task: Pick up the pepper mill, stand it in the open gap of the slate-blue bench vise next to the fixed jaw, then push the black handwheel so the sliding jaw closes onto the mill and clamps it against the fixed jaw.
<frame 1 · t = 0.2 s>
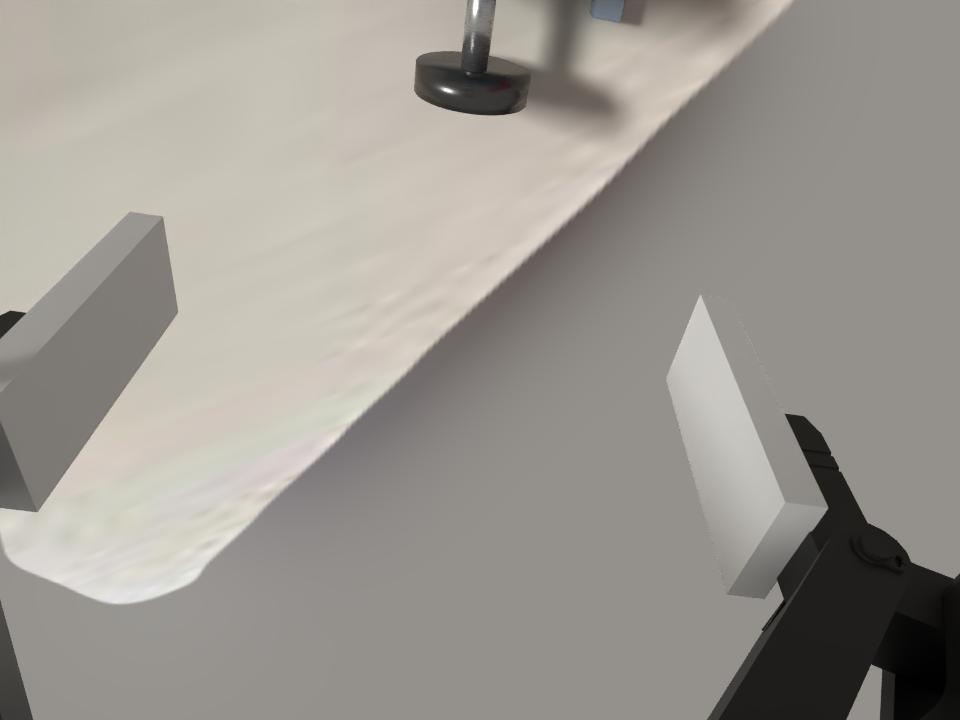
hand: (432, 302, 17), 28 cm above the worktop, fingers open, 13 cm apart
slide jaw: (481, 2, 33), point 5 cm above the worktop, slide at 0.0 cm
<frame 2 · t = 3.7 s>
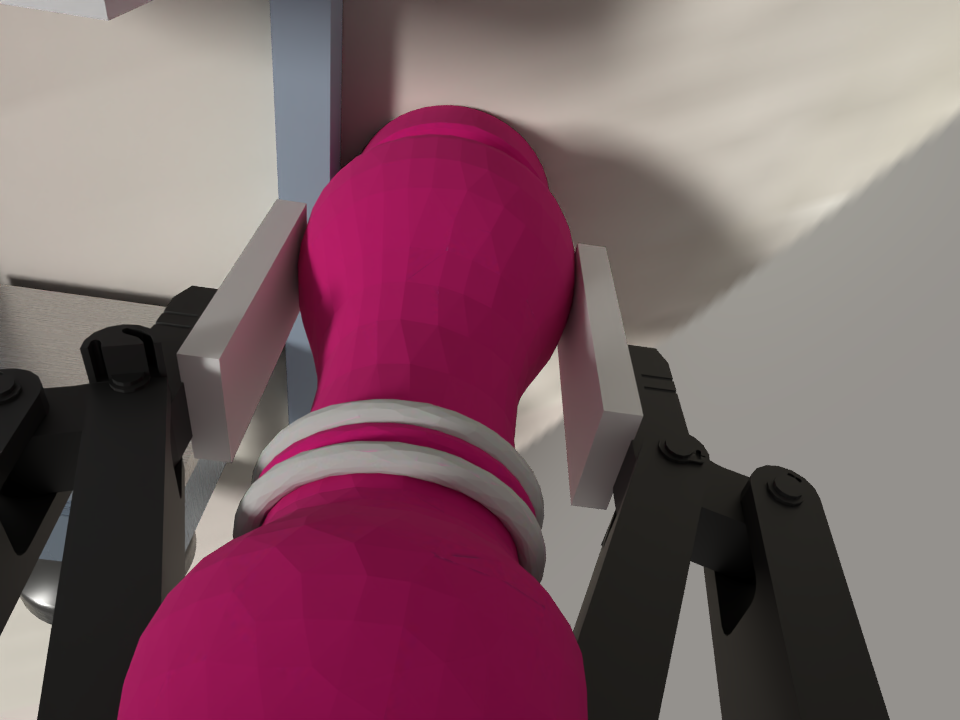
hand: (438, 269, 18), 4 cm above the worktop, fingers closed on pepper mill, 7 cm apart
pepper mill: (451, 201, 22), on the worktop, touching gripper
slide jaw: (85, 475, 23), point 5 cm above the worktop, slide at 0.0 cm
vise: (89, 118, 20), on the worktop
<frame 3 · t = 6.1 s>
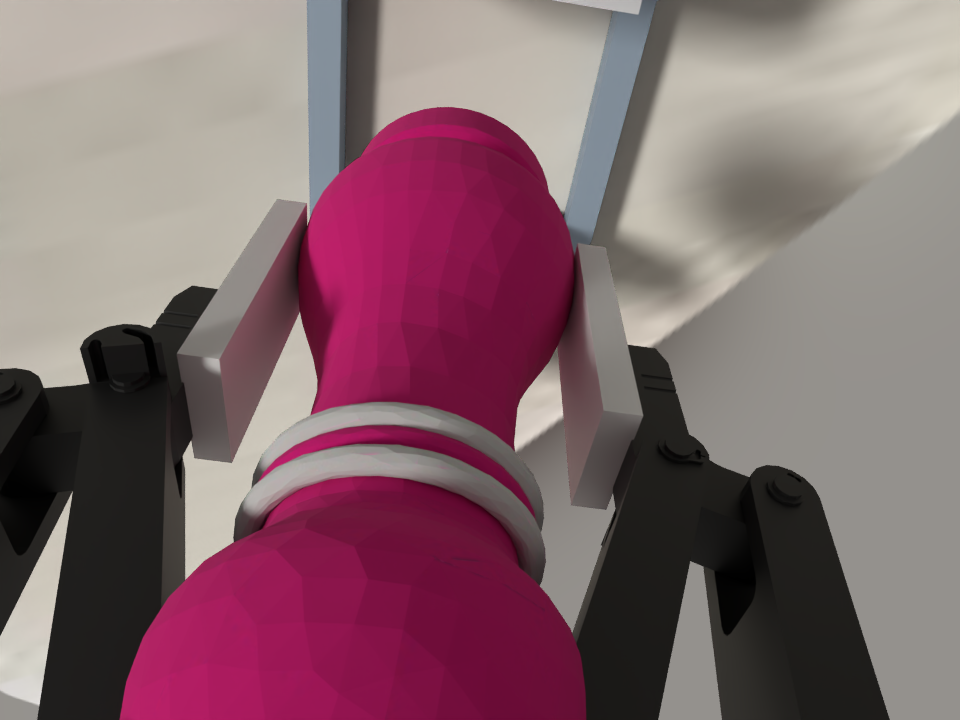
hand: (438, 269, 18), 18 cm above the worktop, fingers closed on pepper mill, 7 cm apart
pepper mill: (451, 202, 22), point 14 cm above the worktop, touching gripper
vise: (470, 76, 33), on the worktop
when the fingers open (5 cm above the worktop, at t = 8.4 s): pepper mill stays where it is, resting in vise.
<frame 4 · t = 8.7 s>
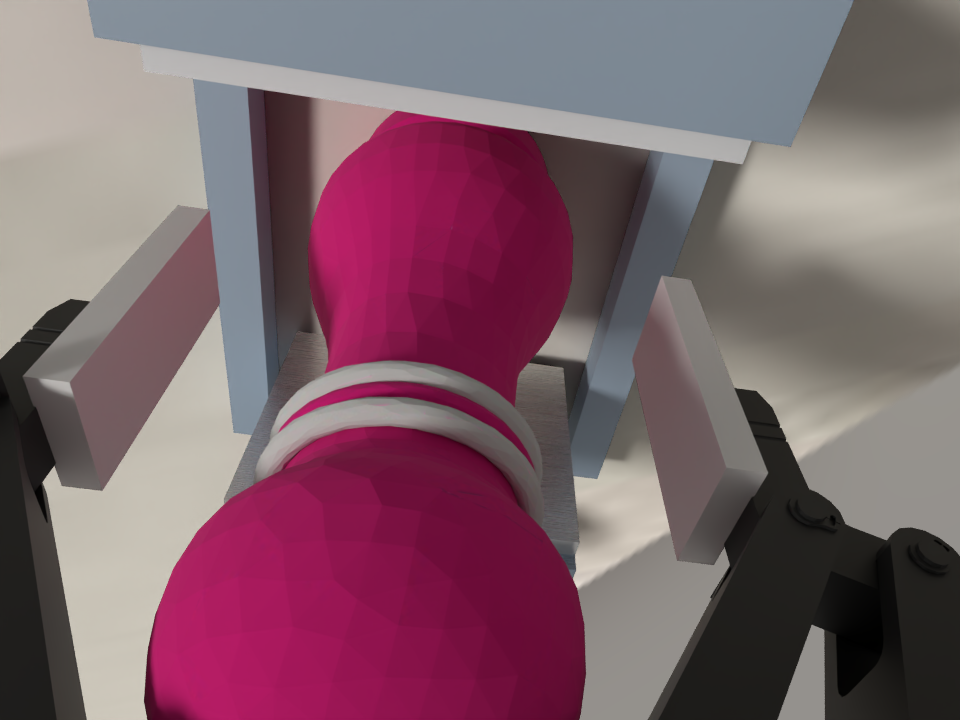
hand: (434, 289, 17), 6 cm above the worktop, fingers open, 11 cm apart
pepper mill: (454, 188, 22), resting in vise
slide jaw: (409, 511, 25), point 5 cm above the worktop, slide at 0.0 cm
vise: (451, 191, 22), on the worktop
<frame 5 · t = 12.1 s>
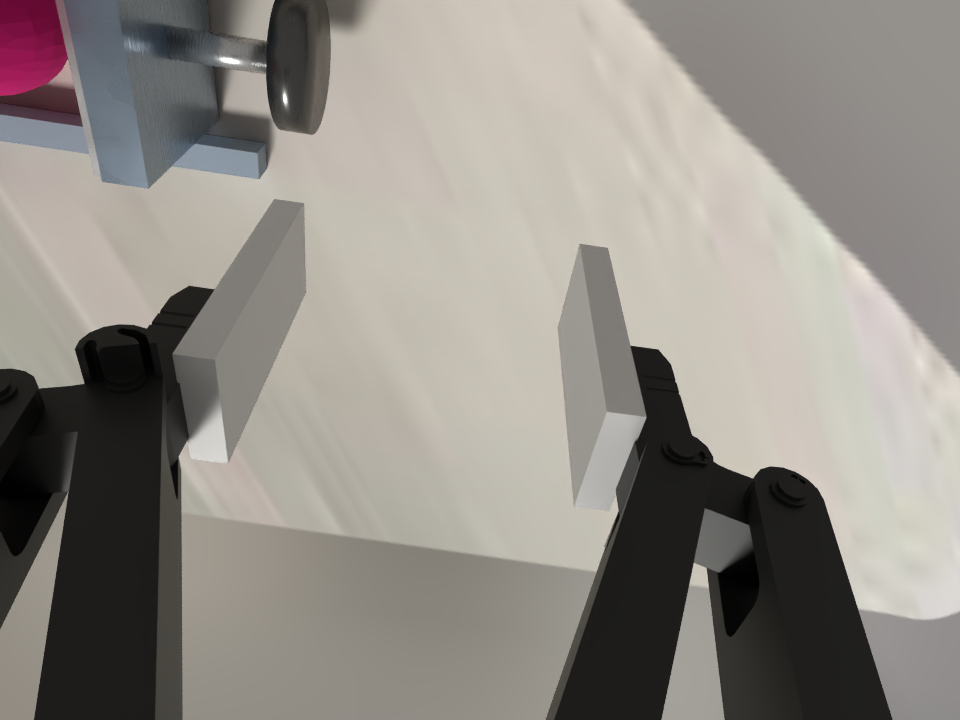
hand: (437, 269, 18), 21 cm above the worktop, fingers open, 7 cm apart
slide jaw: (216, 49, 30), point 5 cm above the worktop, slide at 0.0 cm
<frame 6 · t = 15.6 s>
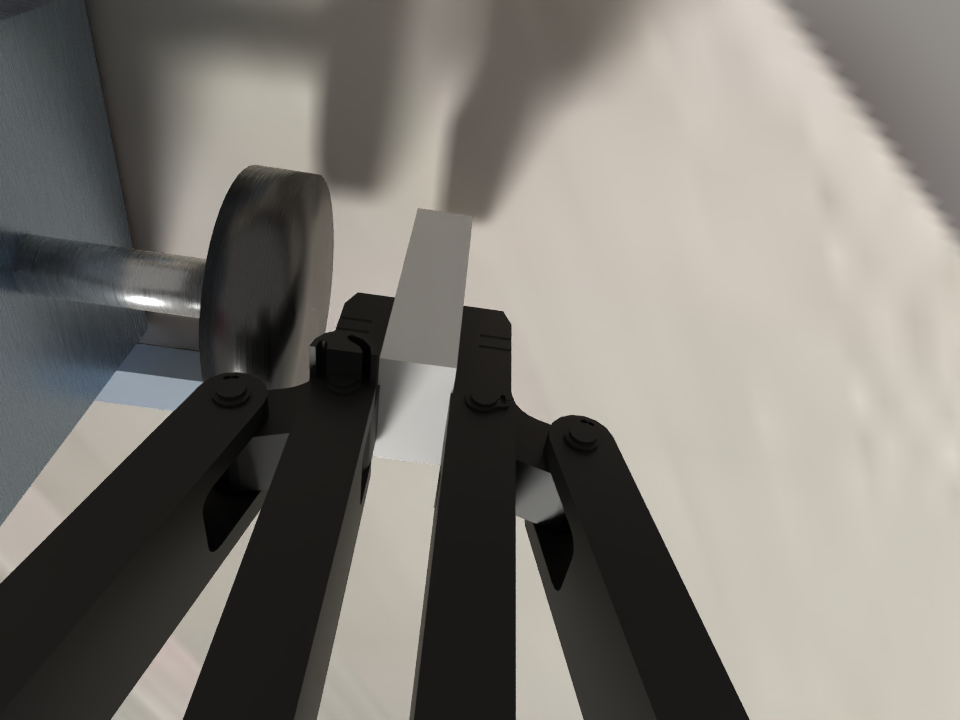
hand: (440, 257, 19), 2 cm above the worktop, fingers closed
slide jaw: (114, 276, 16), point 5 cm above the worktop, slide at 1.2 cm, touching gripper
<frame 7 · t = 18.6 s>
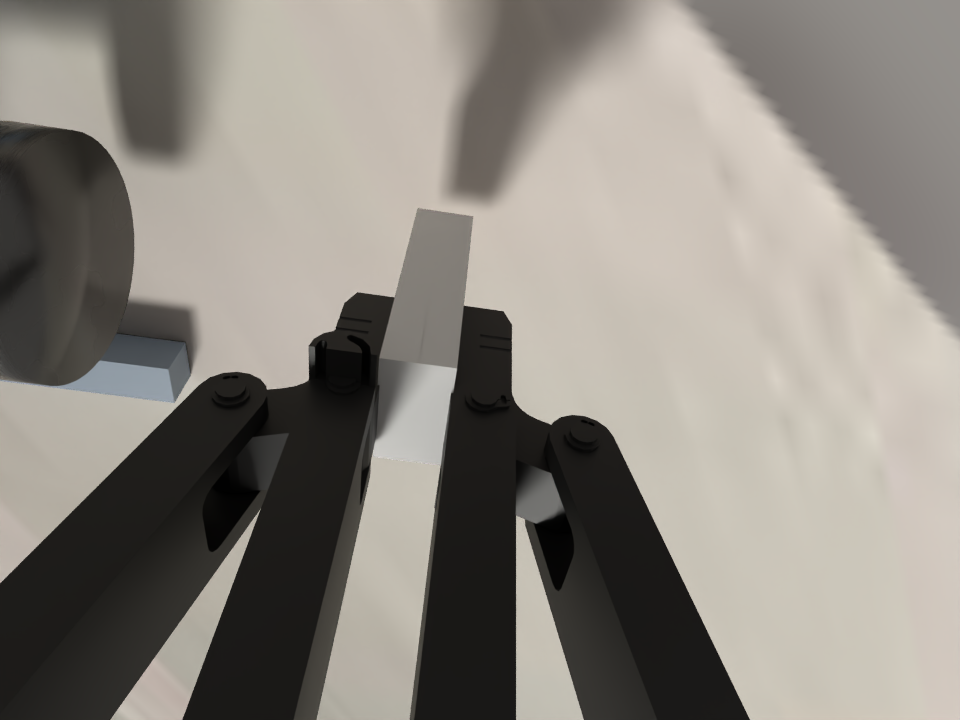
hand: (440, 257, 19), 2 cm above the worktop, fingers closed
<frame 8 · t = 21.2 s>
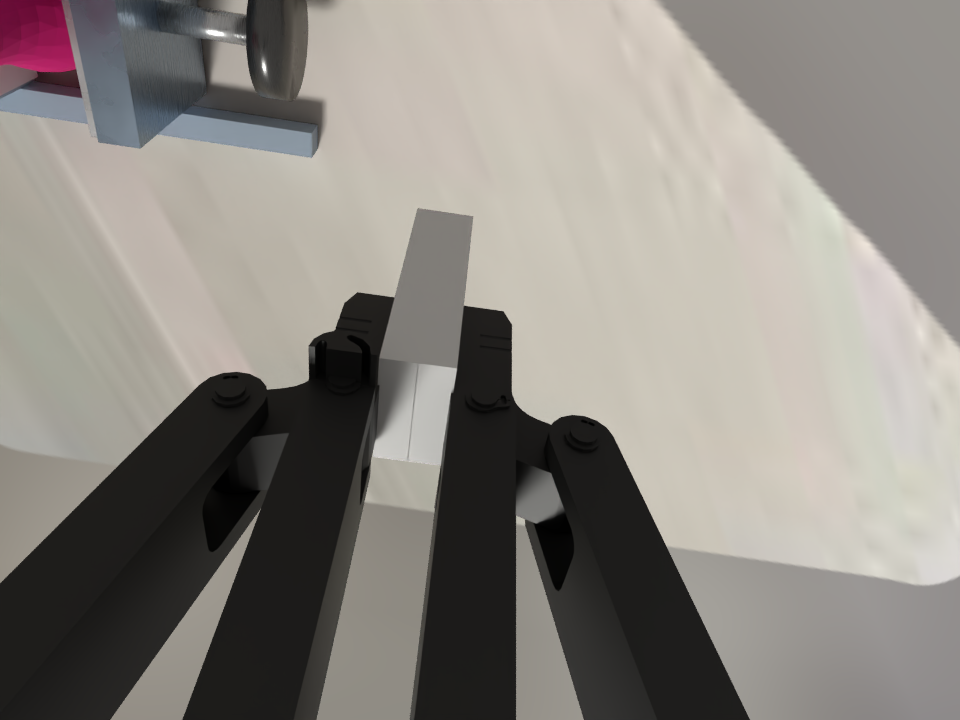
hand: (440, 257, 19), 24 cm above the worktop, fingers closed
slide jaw: (202, 23, 33), point 5 cm above the worktop, slide at 4.1 cm, touching pepper mill
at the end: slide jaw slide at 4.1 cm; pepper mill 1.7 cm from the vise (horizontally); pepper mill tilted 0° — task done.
